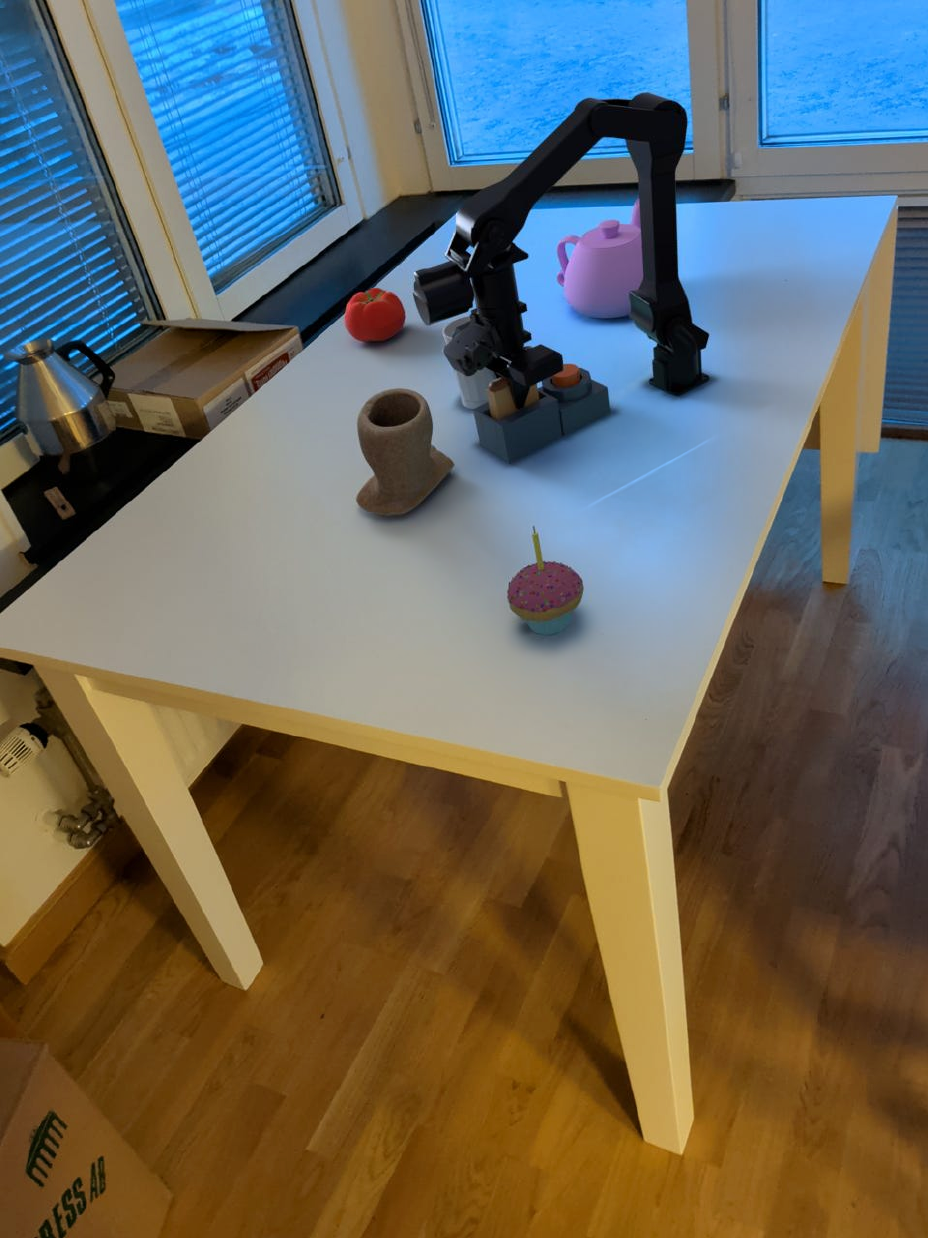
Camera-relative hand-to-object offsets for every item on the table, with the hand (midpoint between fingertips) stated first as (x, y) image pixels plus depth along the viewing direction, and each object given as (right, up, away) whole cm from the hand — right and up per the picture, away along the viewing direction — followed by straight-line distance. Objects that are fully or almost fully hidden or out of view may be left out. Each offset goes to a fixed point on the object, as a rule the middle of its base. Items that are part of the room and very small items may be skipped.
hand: (515, 405), depth 148 cm
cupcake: (+3, -30, -28) cm, 41 cm away
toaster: (+1, -4, +4) cm, 6 cm away
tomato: (-22, +21, +41) cm, 51 cm away
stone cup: (-14, -12, -1) cm, 19 cm away
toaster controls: (+8, 0, +7) cm, 11 cm away
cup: (-4, +4, +15) cm, 16 cm away
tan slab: (0, -1, +1) cm, 2 cm away
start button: (+7, +4, +3) cm, 9 cm away
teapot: (+20, +25, +34) cm, 47 cm away
